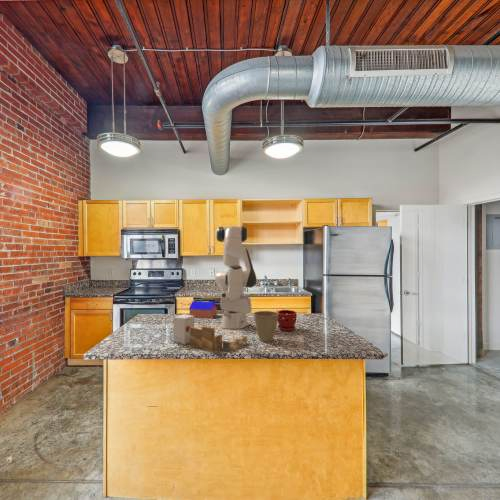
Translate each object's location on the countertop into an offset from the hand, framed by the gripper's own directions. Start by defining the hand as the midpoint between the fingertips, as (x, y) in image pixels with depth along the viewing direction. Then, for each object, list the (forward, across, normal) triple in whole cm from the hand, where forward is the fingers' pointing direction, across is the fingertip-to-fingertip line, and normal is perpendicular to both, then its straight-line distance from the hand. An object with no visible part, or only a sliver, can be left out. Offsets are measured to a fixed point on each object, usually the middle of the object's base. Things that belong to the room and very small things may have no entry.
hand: (235, 319), depth 163 cm
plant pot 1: (+15, -7, -20) cm, 26 cm away
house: (+15, +72, -44) cm, 85 cm away
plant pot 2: (+15, -5, -48) cm, 51 cm away
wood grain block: (+15, +9, +8) cm, 19 cm away
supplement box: (+15, +31, +11) cm, 36 cm away
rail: (+15, 0, 0) cm, 15 cm away
